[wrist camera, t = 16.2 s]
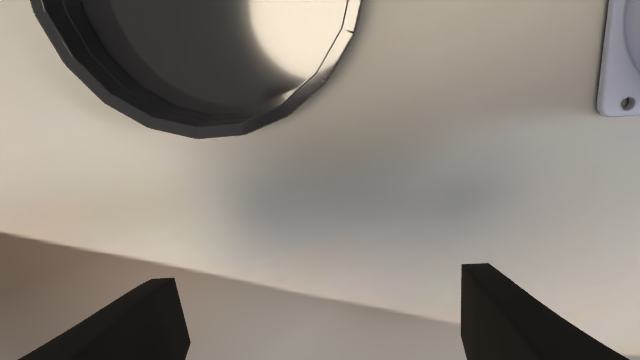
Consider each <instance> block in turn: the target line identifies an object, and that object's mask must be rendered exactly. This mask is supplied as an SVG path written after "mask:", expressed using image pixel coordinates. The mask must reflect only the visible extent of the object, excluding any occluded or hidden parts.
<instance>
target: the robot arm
mask: <svg viewBox="0 0 640 360" xmlns="http://www.w3.org/2000/svg"><path fill="white" fill-rule="evenodd" d="M625 98H629V103H628V105H627V106H626V107H625V108H621V103H622V101H623V100H624V99H625ZM597 110H598V111H599V113H600V114H602V115H604V116H607V117H621V116H633V115H640V0H609V5H608V14H607V22H606V30H605V39H604V47H603V56H602V64H601V72H600V81H599V89H598V98H597ZM461 338H462V341H463V345H464V349H465V353H466V357H467V360H629V359H628V358H626V357H624V356H622V355H620V354H619V353H617V352H615V351H614V350H612V349H610V348H609V347H607V346H605V345H604V344H602V343H600V342H599V341H597V340H596V339H594V338H592V337H591V336H589V335H588V334H586V333H585V332H583V331H582V330H580V329H578V328H577V327H575V326H574V325H572V324H571V323H569V322H568V321H566V320H565V319H563V318H562V317H560V316H559V315H558V314H556V313H555V312H553V311H552V310H550V309H549V308H548V307H546V306H545V305H543V304H542V303H541V302H539V301H538V300H537V299H535V298H534V297H532V296H531V295H530V294H528V293H527V292H526V291H524V290H523V289H522V288H520V287H519V286H518V285H517V284H515V283H514V282H513V281H511V280H510V279H509V278H507V277H506V276H505V275H503V274H502V273H501V272H500V271H498V270H497V269H496V268H494V267H493V266H491V265H490V264H489V263H483V264H462V278H461ZM189 346H190V338H189V334H188V330H187V326H186V322H185V319H184V314H183V311H182V307H181V303H180V299H179V295H178V291H177V287H176V283H175V279H174V278H160V279H151V280H149V281H147V282H145V283H143V284H141V285H139V286H138V287H136V288H134V289H133V290H131V291H129V292H128V293H126V294H124V295H123V296H121V297H120V298H118V299H117V300H115V301H113V302H112V303H110V304H109V305H107V306H106V307H104V308H102V309H101V310H99V311H98V312H96V313H95V314H93V315H91V316H90V317H88V318H87V319H85V320H84V321H82V322H80V323H79V324H77V325H76V326H74V327H72V328H71V329H69V330H67V331H66V332H64V333H63V334H61V335H59V336H57V337H56V338H54V339H52V340H51V341H49V342H48V343H46V344H44V345H43V346H41V347H39V348H37V349H36V350H34V351H32V352H31V353H29V354H27V355H25V356H24V357H22V358H20V359H18V360H185V358H186V355H187V352H188V349H189Z"/></svg>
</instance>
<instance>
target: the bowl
mask: <svg viewBox="0 0 640 360" xmlns="http://www.w3.org/2000/svg"><path fill="white" fill-rule="evenodd" d="M30 2H31V5H32V8H33V12H34V14H35V16H36V18H37V20H38V21H39V23H40V25H41V26H42V28H43V30H44V31H45V33H46V34H47V36H48V38H49V39H50V41H51V43H52V44H53V46H54V48H55V49H56V51H57V53H58V54H59V56H60V58H61V59H62V61H63V62H64V64H65V65H66V66H67V67H68V68H69V69H70V70H71V71H72V72H73V73H74V74H75V75H76V76H77V77H78V78H79V79H80V80H81V81H82V82H83V83H84V84H85V85H86V86H87V87H88V88H89V89H90V90H91V91H92V92H93V93H94V94H95V95H96V96H97V97H98V98H100V99H101V100H102V101H103V102H104V103H105V104H107V105H109V106H110V107H112V108H114V109H116V110H117V111H119V112H121V113H123V114H125V115H126V116H128V117H130V118H132V119H133V120H135V121H137V122H139V123H141V124H142V125H144V126H146V127H148V128H151V129H155V130H159V131H164V132H168V133H173V134H177V135H181V136H186V137H190V138H194V139H204V138H216V137H228V136H240V135H246V134H248V133H251V132H253V131H255V130H258V129H260V128H262V127H265V126H267V125H269V124H272V123H274V122H276V121H278V120H281V119H283V118H285V117H288V116H289V115H291V114H292V113H293V112H294V111H295V110H296V109H297V108H298V107H299V106H301V105H302V104H303V103H304V102H305V101H306V100H307V99H308V98H309V97H311V96H312V95H313V94H314V93H315V92H316V91H317V90H318V89H319V88H320V87H322V86H323V85H324V84H325V83H326V81H328V79H329V77H330V75H331V74H332V72H333V70H334V69H335V67H336V65H337V63H338V62H339V60H340V58H341V56H342V55H343V53H344V51H345V49H346V48H347V46H348V44H349V43H350V41H351V39H352V37H353V36H354V33H355V30H356V26H357V21H358V17H359V13H360V8H361V4H362V0H30Z"/></svg>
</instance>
